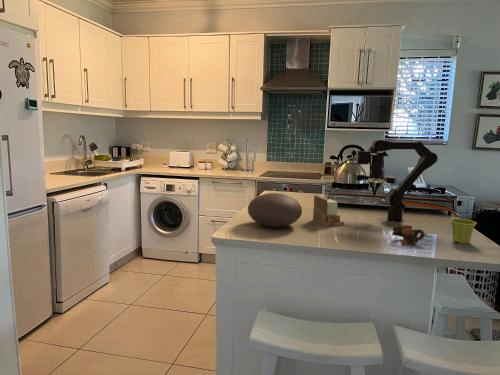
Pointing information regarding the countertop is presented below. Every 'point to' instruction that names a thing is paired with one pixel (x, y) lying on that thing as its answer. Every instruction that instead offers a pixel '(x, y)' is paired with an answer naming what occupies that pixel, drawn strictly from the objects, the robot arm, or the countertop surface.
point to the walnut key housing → (324, 213)
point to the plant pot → (462, 230)
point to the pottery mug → (408, 234)
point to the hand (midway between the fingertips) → (374, 195)
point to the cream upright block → (331, 207)
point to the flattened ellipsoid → (274, 210)
